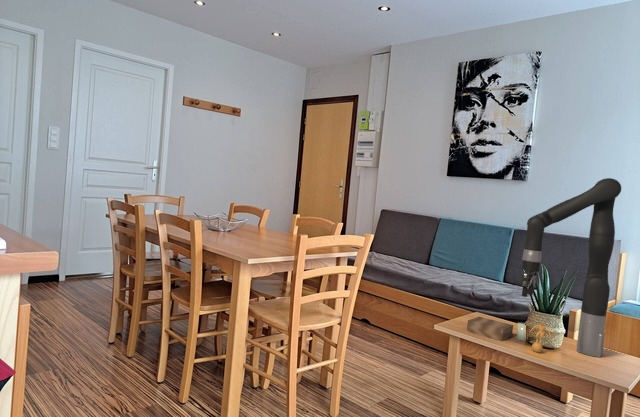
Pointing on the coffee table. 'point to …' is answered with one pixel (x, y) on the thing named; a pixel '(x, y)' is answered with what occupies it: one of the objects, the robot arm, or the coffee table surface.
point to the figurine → (537, 346)
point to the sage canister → (521, 332)
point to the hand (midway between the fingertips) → (527, 295)
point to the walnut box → (490, 328)
